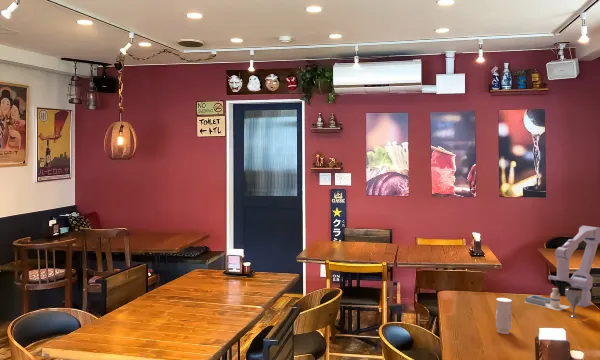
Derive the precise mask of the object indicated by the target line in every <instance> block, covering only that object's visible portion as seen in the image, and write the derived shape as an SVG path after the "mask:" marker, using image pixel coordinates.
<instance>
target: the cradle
mask: <svg viewBox="0 0 600 360" xmlns="http://www.w3.org/2000/svg"><path fill="white" fill-rule="evenodd" d="M550 298H551V297H544V296H540V295H534V294H532V295H530V296H525V301H524V303H525V304H530V305H534V306H538V307H542V308H545V309H550V310H551V309H552V310H554V311H559V312H560V311H563V310H566V309H569V308H570V306H569V305H565V304H564V305H563V304H560V307H559V308H555V307H551V306H550Z"/></svg>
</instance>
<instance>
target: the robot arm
mask: <svg viewBox="0 0 600 360" xmlns="http://www.w3.org/2000/svg"><path fill="white" fill-rule="evenodd" d="M583 241H584V243H585V244H586V245H585V249H584V253H583V255H582V259H581V262H580V265H579V269H578V270H576V271H575V272H573V274H572V276H571V277H569V276H570V259H571V258H572V256H573V254H574V251H576V249H578V247H579V245H580V243H581V242H583ZM599 244H600V227H599V226H597V227H596V226H589V225H584V224H583V225H581V226H580V227H579V228H578V233H577V234H576V235H575V236H574V237H573V238H570V239H569V238H568V240H567V241H566V242H565V243H564V244H562V245H561V246H559V247H557V248H555V252H554V256H555V260H556V275H548V277H547V278H548V280H552V281H555V284H556V286H557V289H559V290H558V293H559V294H560V296H562V297H563V296H565V295H566V294H565V288H566V287H569V285H570V287H577V288H581V289H583V297H582V300H581V301H580V302H579V303H578V304H577V305H576V307H577V306H578V307H582V308H586V307H589V306H591V305H593V303H591V301H592V292H591V291H590V290H591V289H592V288H593V283H594V278H593V276H592V275H591V274H590V272H591V269H592V265H593V264H594V263H593V261H594V258H595V257H596V256H595V255H596V252H597V248H598V245H599Z"/></svg>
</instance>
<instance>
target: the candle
mask: <svg viewBox="0 0 600 360" xmlns="http://www.w3.org/2000/svg"><path fill="white" fill-rule="evenodd" d="M512 302H513V300H512V299H510V298H507V297H497V298H496V310H495V327H496V328H497V329H496V332H497V333H498V334H503V335H508V334H509V335H510V333H511V332H510V330H511V329H512V321H513V317H512V316H513V312H512Z"/></svg>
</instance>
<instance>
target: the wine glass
mask: <svg viewBox="0 0 600 360" xmlns="http://www.w3.org/2000/svg"><path fill="white" fill-rule="evenodd" d="M564 295H565V298H566V300H567V301H568V303H569V304H570V305H571V309H572V315H570V316H568V317H569V318H572V319H578V316H576V315H575V311H576V307H577V304H578V303H579V302H580V301H581V300H582V297H583V289H581V288H577V287H572V286H568V287H566V288H565V294H564Z"/></svg>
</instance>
